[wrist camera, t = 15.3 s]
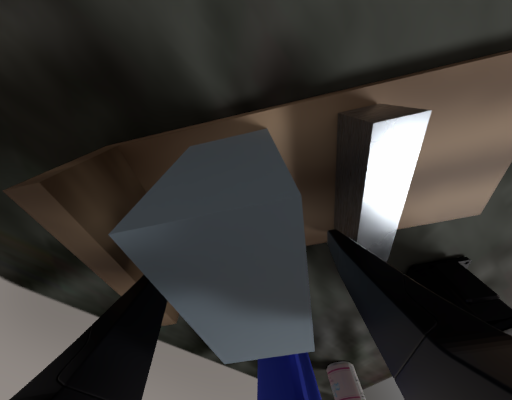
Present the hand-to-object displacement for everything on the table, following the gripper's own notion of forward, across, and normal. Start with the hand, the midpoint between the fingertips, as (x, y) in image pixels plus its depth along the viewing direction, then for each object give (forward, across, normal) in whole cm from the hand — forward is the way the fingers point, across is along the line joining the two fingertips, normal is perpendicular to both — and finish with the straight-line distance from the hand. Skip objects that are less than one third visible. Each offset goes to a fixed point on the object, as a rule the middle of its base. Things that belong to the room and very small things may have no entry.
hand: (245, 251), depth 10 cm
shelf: (+6, -6, 0) cm, 8 cm away
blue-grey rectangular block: (+5, 0, 0) cm, 5 cm away
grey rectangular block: (+5, -8, 0) cm, 9 cm away
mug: (+6, 0, +27) cm, 28 cm away
